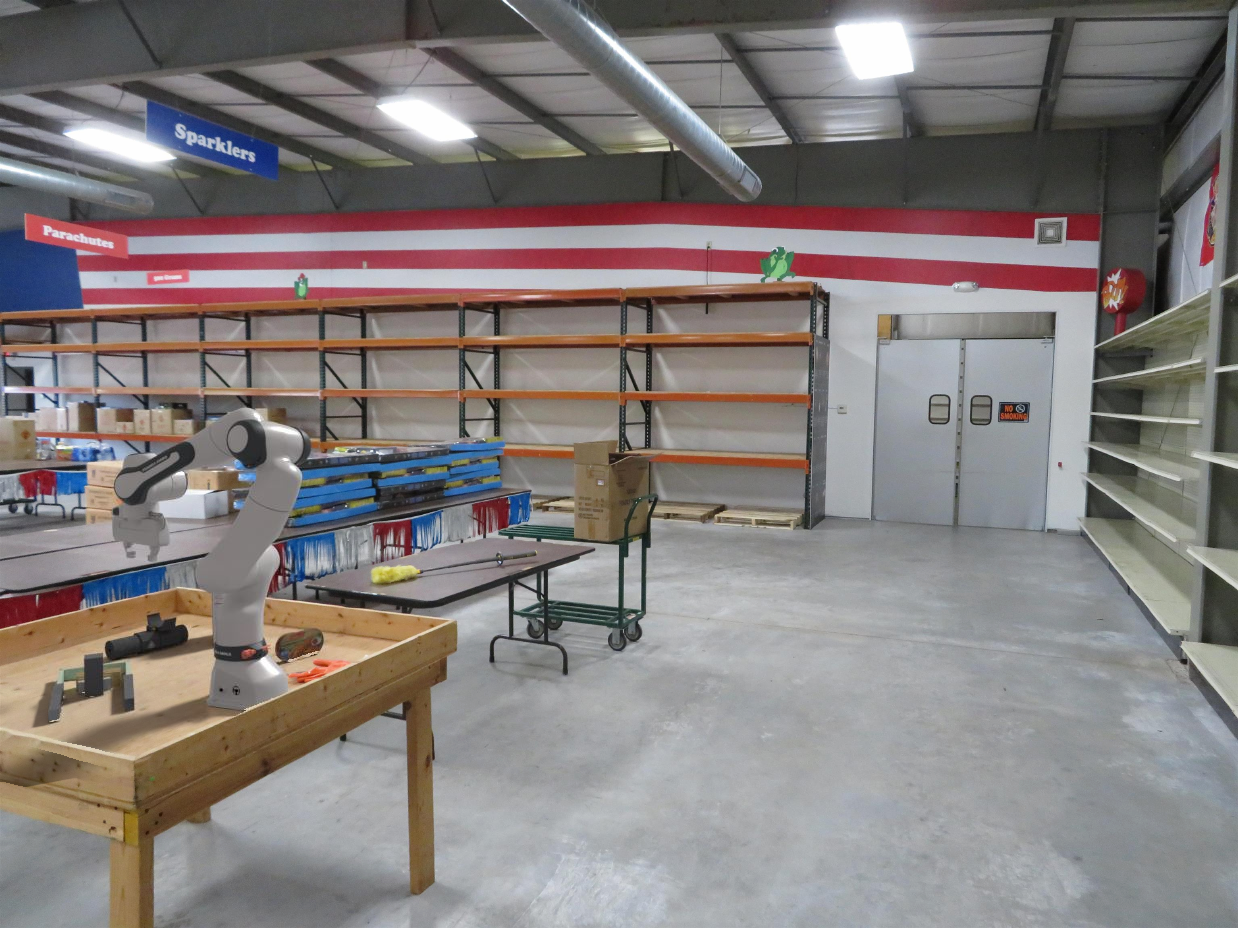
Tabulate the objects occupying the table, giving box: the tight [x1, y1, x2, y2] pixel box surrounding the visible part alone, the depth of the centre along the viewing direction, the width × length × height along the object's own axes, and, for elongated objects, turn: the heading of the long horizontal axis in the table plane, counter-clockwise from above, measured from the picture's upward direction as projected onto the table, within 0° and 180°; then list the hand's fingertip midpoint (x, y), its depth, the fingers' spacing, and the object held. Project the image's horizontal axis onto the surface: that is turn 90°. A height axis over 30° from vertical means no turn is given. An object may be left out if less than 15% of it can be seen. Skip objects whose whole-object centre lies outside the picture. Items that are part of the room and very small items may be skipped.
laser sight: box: [104, 612, 189, 661], centre depth 238 cm, size 10×22×10 cm, turn 149°
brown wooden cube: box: [103, 667, 122, 688], centre depth 209 cm, size 4×4×4 cm
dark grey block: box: [77, 652, 112, 698], centre depth 202 cm, size 5×7×10 cm
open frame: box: [56, 660, 132, 684], centre depth 210 cm, size 13×16×3 cm
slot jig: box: [48, 673, 135, 722], centre depth 196 cm, size 20×17×3 cm
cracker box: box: [211, 593, 226, 647], centre depth 251 cm, size 14×6×21 cm, turn 24°
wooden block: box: [75, 672, 84, 693], centre depth 206 cm, size 4×4×4 cm
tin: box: [274, 627, 325, 662], centre depth 235 cm, size 15×3×8 cm, turn 146°
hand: (141, 559), depth 220 cm, fingers open, 8 cm apart
